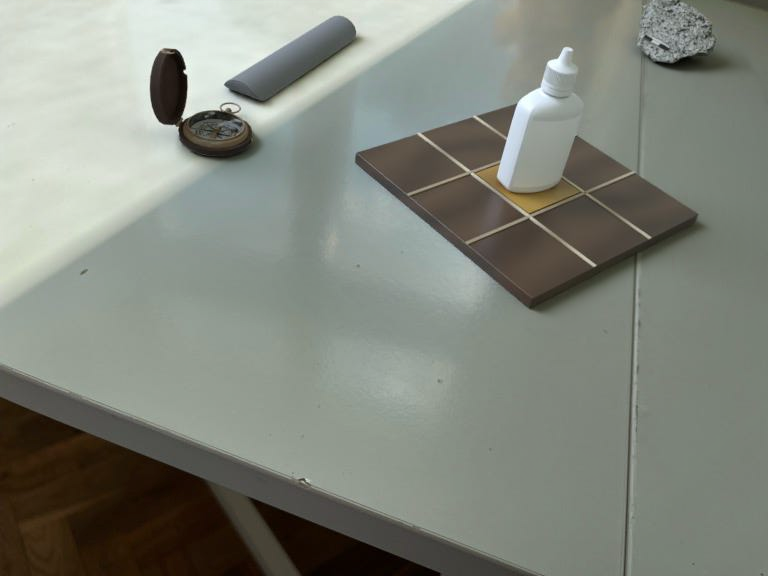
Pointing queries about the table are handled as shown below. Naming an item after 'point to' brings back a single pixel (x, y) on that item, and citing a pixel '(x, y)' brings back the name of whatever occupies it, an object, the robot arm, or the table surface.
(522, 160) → the eye dropper bottle
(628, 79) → the table surface
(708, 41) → the rock sample
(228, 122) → the compass
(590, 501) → the table surface
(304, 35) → the gray half cylinder
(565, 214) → the grid board
